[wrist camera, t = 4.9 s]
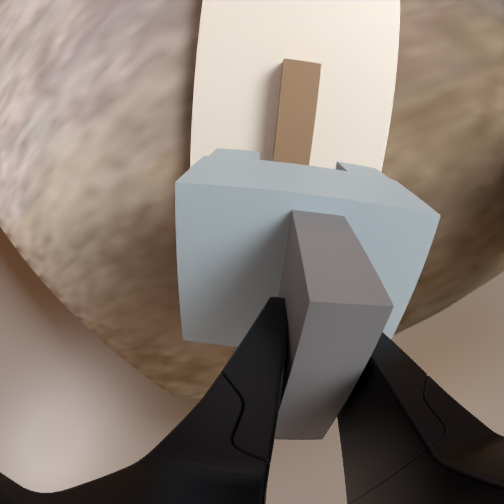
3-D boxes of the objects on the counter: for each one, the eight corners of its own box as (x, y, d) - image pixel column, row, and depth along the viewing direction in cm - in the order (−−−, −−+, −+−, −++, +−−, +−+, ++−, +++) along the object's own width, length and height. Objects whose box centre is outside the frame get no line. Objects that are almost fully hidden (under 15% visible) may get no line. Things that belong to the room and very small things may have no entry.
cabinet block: (379, 169, 13) (517, 288, 4) (353, 273, 16) (410, 436, 7) (212, 148, 13) (107, 253, 4) (208, 260, 16) (156, 430, 7)
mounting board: (391, -23, 11) (429, -52, 6) (340, 299, 24) (355, 352, 19) (215, -49, 11) (197, -91, 6) (194, 286, 24) (177, 338, 19)
